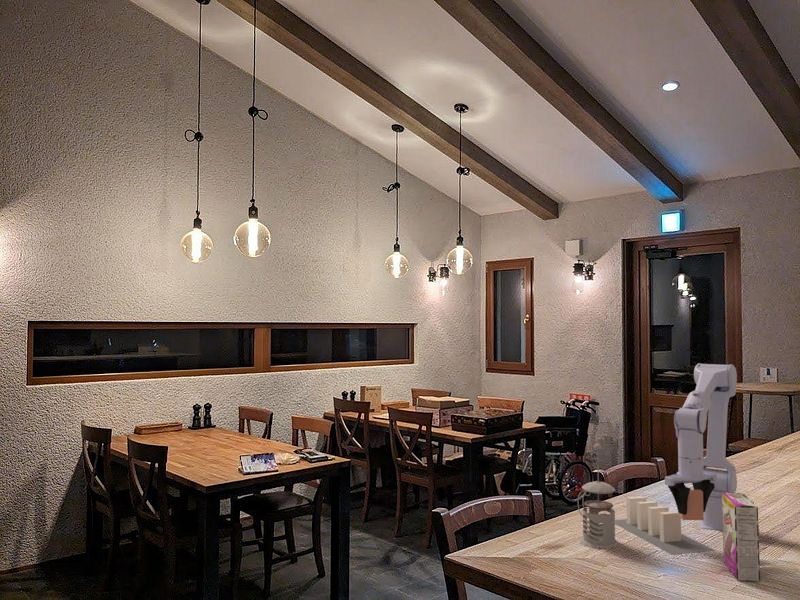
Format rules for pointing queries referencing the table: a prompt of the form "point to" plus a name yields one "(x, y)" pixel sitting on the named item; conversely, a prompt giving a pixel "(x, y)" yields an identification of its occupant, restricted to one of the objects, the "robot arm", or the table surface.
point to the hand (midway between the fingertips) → (691, 512)
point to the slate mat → (671, 547)
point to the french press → (598, 516)
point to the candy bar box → (741, 536)
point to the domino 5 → (694, 506)
